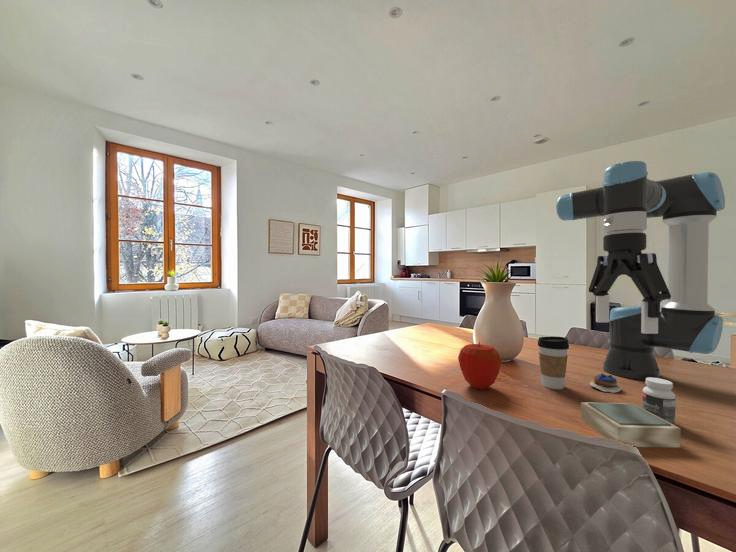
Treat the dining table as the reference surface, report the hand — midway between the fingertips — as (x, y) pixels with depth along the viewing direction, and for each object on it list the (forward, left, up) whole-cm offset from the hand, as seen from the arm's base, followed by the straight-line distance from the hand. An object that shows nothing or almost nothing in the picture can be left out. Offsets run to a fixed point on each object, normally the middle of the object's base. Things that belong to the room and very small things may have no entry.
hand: (623, 327), depth 71 cm
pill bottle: (-10, -3, -23) cm, 25 cm away
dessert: (-12, -26, -24) cm, 37 cm away
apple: (+25, -24, -23) cm, 41 cm away
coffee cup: (+2, -26, -23) cm, 34 cm away
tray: (+1, +2, -23) cm, 23 cm away
